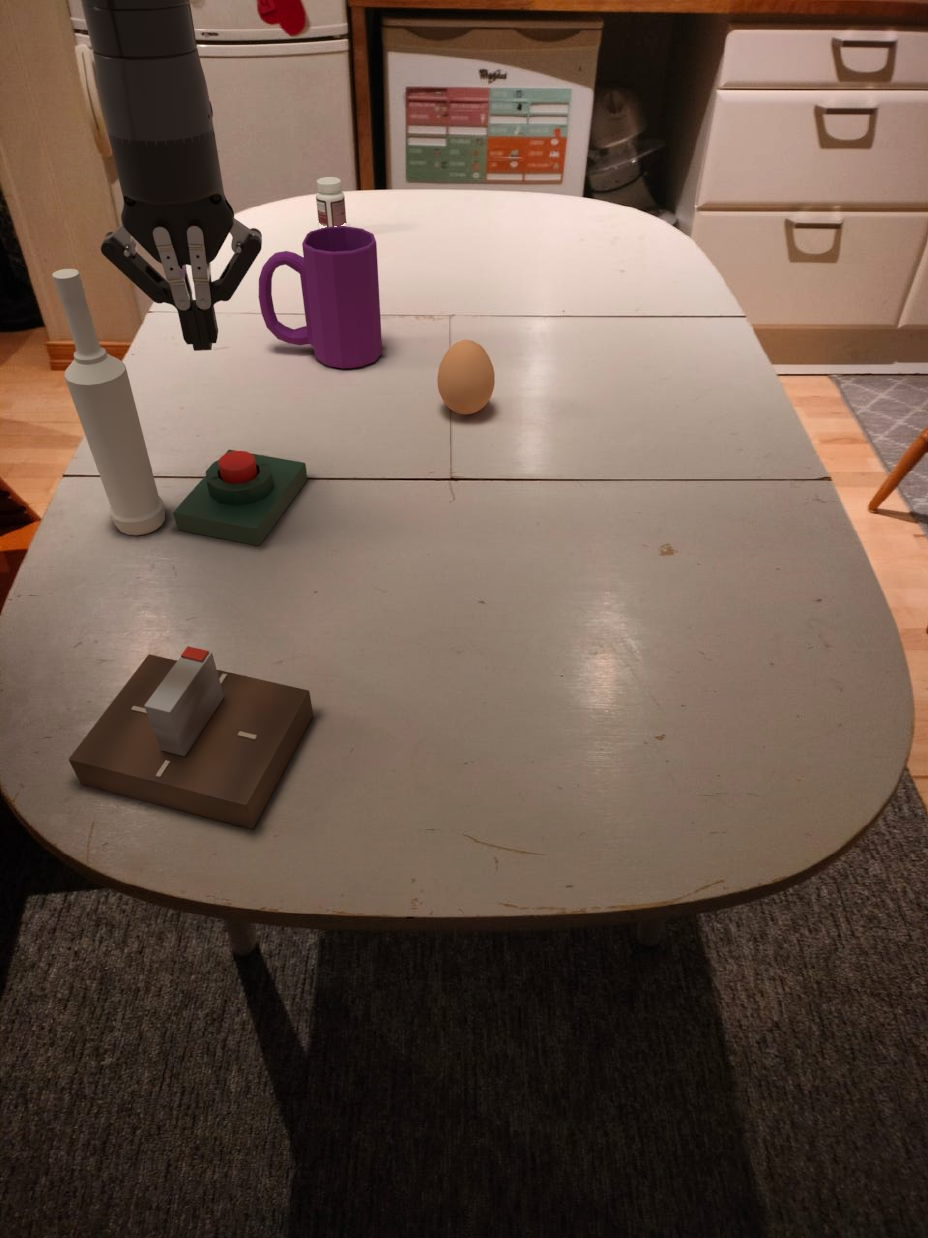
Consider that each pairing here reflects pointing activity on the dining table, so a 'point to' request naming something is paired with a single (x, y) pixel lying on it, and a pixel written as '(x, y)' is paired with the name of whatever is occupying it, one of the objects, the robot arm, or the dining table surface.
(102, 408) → the bottle
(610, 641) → the dining table surface
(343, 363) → the mug
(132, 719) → the panel
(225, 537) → the switch
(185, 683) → the tap handle
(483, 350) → the egg
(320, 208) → the pill bottle
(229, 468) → the red push button
